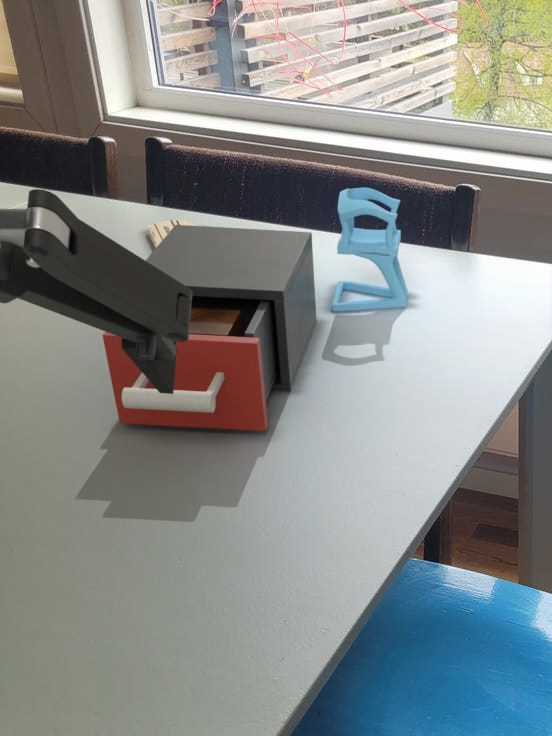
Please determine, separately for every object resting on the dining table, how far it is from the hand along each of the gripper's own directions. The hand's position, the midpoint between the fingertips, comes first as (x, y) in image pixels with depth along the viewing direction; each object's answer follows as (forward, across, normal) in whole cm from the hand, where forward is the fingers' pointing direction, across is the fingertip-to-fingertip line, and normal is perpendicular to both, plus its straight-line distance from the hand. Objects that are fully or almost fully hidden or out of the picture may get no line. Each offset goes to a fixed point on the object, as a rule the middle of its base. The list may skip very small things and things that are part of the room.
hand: (48, 364), depth 56 cm
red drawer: (+33, 0, +9) cm, 34 cm away
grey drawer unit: (+42, 0, +18) cm, 46 cm away
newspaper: (+60, -11, +36) cm, 71 cm away
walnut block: (+29, 0, +12) cm, 32 cm away
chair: (+54, +12, +29) cm, 62 cm away
